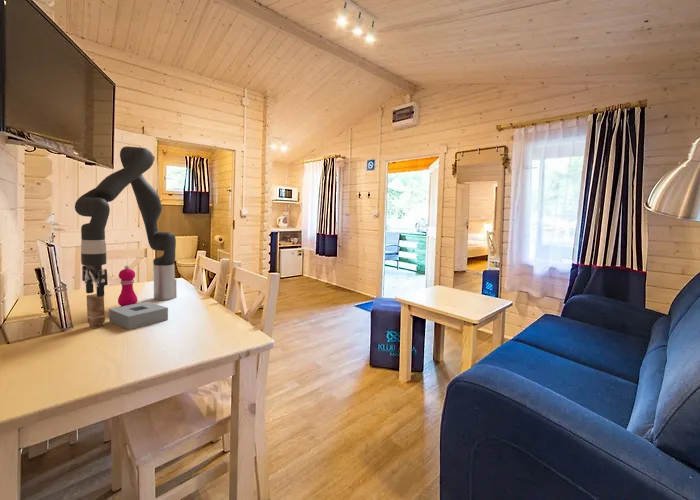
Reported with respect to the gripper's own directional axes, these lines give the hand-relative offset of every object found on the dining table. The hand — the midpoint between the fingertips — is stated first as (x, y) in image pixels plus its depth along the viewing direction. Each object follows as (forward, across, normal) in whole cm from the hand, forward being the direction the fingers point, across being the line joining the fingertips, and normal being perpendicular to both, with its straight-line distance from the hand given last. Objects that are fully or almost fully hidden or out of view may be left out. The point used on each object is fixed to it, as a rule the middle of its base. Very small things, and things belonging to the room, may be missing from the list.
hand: (95, 294), depth 129 cm
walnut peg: (+12, 0, 0) cm, 12 cm away
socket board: (+12, -5, -13) cm, 19 cm away
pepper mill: (+12, +12, -17) cm, 24 cm away
